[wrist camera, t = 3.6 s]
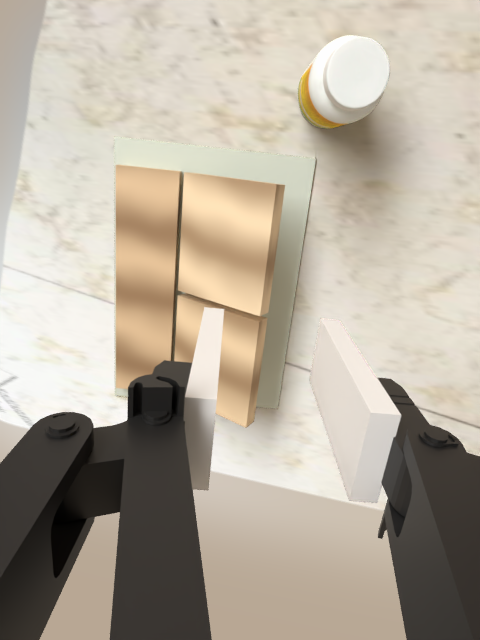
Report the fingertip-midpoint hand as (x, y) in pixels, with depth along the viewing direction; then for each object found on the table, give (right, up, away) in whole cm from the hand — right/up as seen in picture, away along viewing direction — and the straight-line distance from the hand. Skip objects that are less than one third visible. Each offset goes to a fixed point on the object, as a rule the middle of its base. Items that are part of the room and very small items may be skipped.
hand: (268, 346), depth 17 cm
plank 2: (-3, -2, +24) cm, 24 cm away
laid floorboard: (-10, +4, +25) cm, 27 cm away
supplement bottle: (+6, +20, +19) cm, 28 cm away
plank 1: (-2, +8, +20) cm, 22 cm away
